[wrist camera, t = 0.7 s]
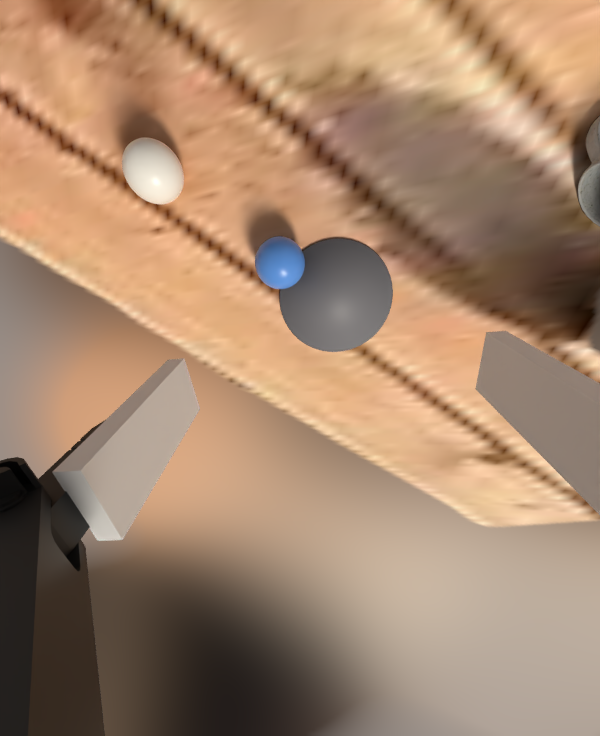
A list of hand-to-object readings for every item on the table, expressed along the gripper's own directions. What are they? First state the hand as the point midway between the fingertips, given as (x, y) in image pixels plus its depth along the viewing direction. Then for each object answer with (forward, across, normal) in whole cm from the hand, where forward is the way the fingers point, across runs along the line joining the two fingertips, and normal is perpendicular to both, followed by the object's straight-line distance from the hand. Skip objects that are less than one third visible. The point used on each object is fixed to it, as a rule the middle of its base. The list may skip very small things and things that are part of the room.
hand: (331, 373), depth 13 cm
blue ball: (+22, -4, +2) cm, 23 cm away
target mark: (+25, +2, -3) cm, 25 cm away
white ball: (+22, -15, +12) cm, 30 cm away
